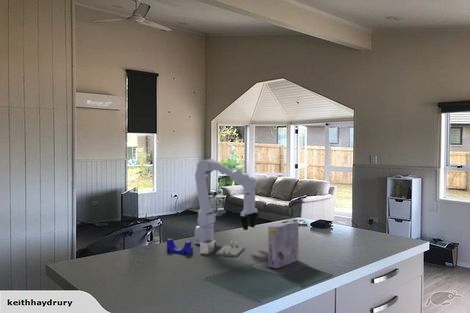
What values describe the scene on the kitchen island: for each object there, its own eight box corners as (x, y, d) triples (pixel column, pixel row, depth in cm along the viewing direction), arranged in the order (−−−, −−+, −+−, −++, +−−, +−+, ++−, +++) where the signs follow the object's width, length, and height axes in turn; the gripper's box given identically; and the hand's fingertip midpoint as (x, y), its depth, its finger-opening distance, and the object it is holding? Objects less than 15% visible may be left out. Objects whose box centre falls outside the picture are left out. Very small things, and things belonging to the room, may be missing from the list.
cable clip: (192, 253, 197) (192, 240, 197) (187, 255, 193) (187, 242, 193) (172, 250, 202) (172, 237, 202) (166, 252, 198) (166, 239, 198)
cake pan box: (290, 258, 189) (291, 219, 189) (300, 260, 186) (300, 221, 186) (266, 267, 175) (267, 226, 174) (276, 269, 171) (277, 227, 171)
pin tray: (215, 255, 193) (215, 247, 193) (225, 247, 209) (225, 240, 208) (236, 256, 190) (236, 249, 190) (244, 248, 206) (244, 241, 206)
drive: (199, 253, 196) (200, 243, 196) (206, 249, 204) (206, 239, 204) (207, 254, 195) (207, 243, 195) (213, 249, 203) (214, 239, 203)
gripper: (249, 203, 198) (249, 231, 199) (262, 200, 211) (262, 226, 211) (237, 202, 202) (236, 230, 202) (250, 199, 214) (250, 225, 215)
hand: (248, 228), depth 207 cm, fingers open, 7 cm apart
